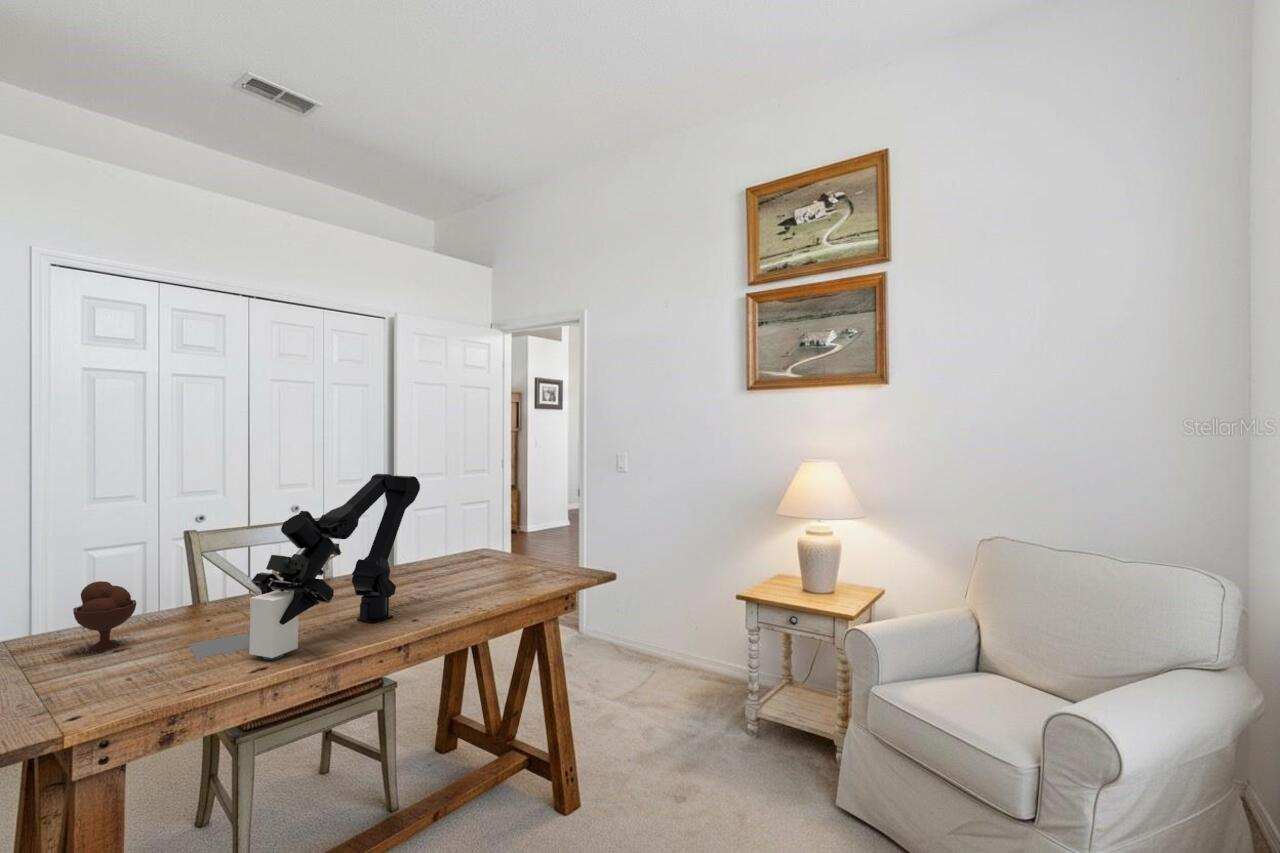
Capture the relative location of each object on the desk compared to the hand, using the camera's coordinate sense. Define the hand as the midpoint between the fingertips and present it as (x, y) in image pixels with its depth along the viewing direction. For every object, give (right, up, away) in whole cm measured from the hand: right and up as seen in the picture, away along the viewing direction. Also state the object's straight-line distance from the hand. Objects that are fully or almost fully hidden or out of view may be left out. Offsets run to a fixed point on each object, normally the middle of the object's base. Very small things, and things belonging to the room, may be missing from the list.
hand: (269, 621), depth 133 cm
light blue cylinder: (0, -8, +1) cm, 8 cm away
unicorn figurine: (-18, -9, +48) cm, 52 cm away
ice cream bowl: (-40, -8, +5) cm, 41 cm away
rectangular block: (0, -7, +1) cm, 7 cm away
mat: (-14, -8, +7) cm, 18 cm away
